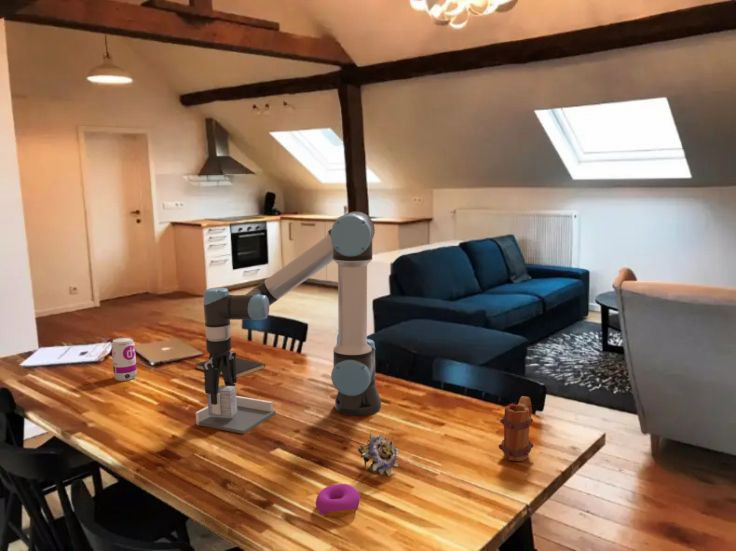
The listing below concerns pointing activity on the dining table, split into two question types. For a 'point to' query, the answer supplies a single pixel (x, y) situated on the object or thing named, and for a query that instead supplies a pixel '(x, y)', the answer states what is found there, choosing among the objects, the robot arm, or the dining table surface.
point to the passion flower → (380, 454)
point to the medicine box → (225, 401)
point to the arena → (238, 416)
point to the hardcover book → (241, 366)
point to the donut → (338, 500)
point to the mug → (517, 430)
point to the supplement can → (124, 359)
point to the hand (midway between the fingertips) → (222, 409)
